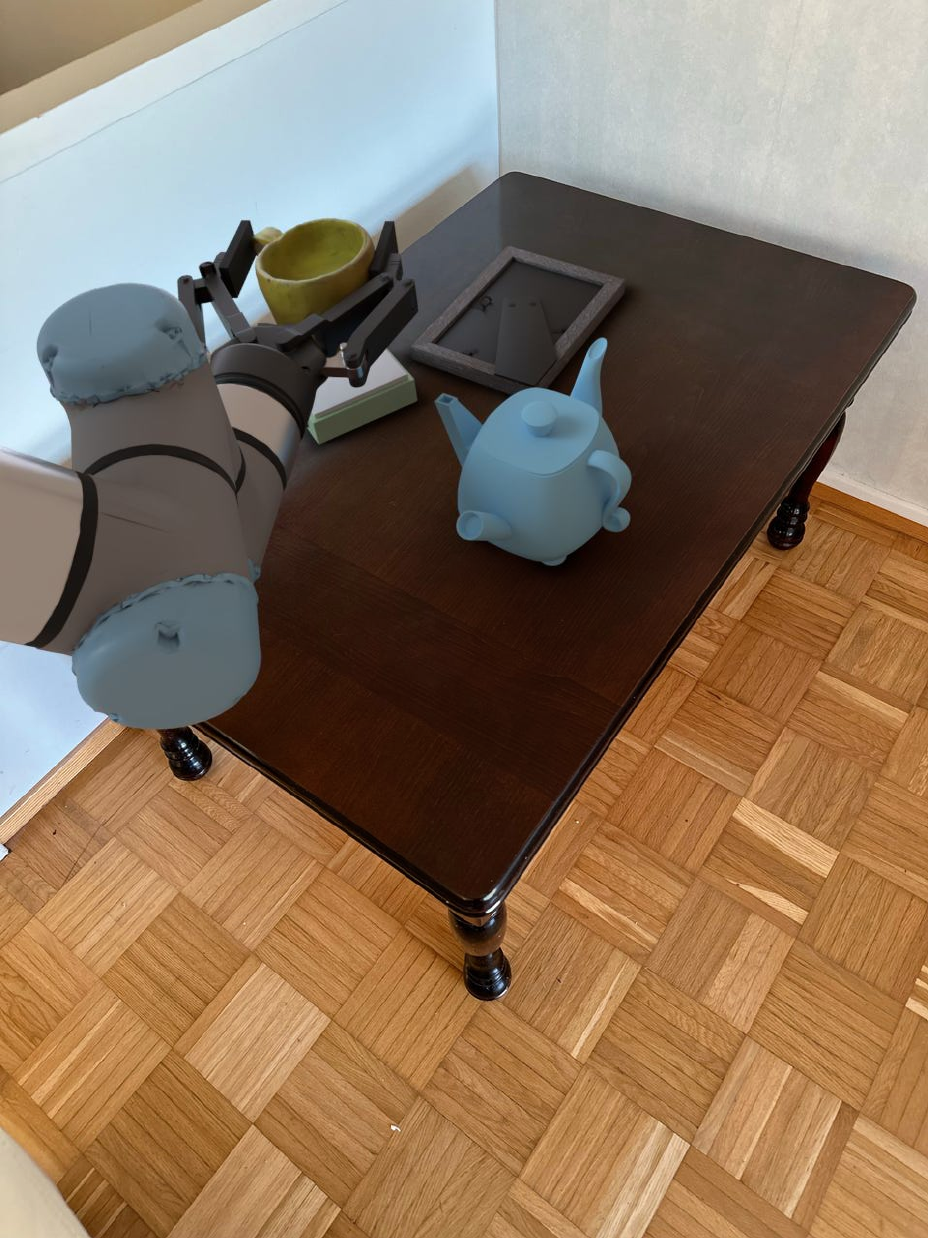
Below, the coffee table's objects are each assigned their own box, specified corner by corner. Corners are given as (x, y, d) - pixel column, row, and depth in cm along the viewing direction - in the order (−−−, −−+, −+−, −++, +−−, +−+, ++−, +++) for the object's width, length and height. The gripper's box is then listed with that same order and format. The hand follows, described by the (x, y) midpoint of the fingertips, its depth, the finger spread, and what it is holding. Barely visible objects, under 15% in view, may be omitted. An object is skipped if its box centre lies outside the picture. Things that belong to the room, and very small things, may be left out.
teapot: (441, 464, 78) (427, 357, 68) (598, 440, 78) (606, 330, 69) (467, 606, 69) (455, 505, 60) (644, 578, 69) (659, 473, 60)
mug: (434, 317, 73) (371, 212, 65) (339, 401, 73) (264, 306, 65) (367, 273, 81) (304, 175, 74) (282, 349, 81) (210, 259, 73)
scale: (317, 445, 80) (310, 420, 78) (281, 395, 84) (273, 370, 82) (417, 400, 83) (413, 374, 80) (377, 354, 87) (373, 328, 84)
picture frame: (534, 403, 81) (624, 293, 90) (534, 385, 80) (625, 275, 88) (412, 359, 86) (508, 258, 94) (409, 342, 84) (507, 241, 93)
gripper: (106, 455, 66) (197, 274, 78) (425, 469, 63) (467, 278, 75) (62, 372, 60) (167, 191, 72) (412, 383, 57) (460, 191, 69)
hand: (320, 235), depth 74 cm, fingers closed on mug, 11 cm apart
